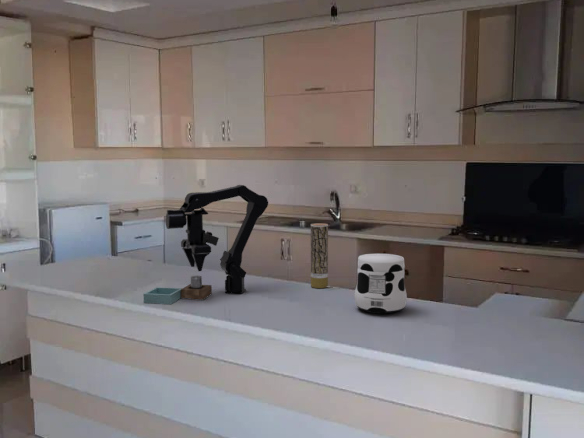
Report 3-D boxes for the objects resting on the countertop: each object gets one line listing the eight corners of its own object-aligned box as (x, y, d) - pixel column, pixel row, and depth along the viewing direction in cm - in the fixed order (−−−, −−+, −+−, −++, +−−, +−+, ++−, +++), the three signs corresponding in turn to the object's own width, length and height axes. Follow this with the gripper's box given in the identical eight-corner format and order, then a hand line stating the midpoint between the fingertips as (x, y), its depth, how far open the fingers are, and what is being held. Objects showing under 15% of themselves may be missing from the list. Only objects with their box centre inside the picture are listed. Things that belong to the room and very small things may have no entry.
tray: (182, 297, 209) (182, 288, 209) (170, 304, 199) (170, 295, 199) (156, 295, 212) (156, 287, 211) (143, 302, 202) (143, 293, 201)
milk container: (389, 301, 202) (390, 251, 200) (416, 313, 186) (417, 259, 184) (345, 306, 196) (346, 254, 194) (370, 319, 180) (370, 263, 178)
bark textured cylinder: (326, 289, 221) (326, 225, 218) (309, 288, 222) (309, 225, 220) (328, 285, 228) (329, 223, 225) (312, 284, 229) (312, 223, 226)
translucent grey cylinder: (203, 295, 212) (203, 275, 211) (199, 298, 208) (199, 278, 207) (193, 294, 213) (193, 275, 212) (189, 297, 209) (189, 277, 208)
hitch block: (211, 294, 214) (211, 285, 213) (203, 299, 205) (203, 290, 205) (190, 293, 216) (190, 284, 215) (181, 298, 207) (180, 289, 207)
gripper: (224, 228, 203) (225, 271, 205) (208, 223, 219) (209, 262, 221) (194, 230, 198) (195, 274, 200) (180, 224, 214) (181, 265, 216)
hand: (196, 268), depth 209 cm, fingers open, 9 cm apart
